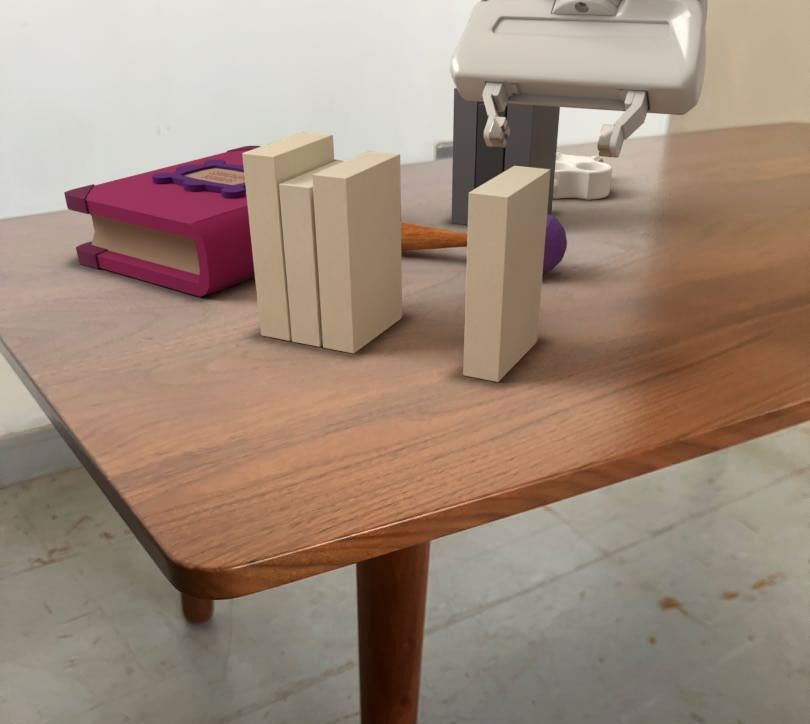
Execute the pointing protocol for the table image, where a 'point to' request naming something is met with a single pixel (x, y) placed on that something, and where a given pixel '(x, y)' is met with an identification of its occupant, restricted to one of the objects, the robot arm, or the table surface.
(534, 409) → the table surface
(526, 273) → the cream book
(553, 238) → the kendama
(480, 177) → the grey books
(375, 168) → the cream books
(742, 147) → the table surface
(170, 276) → the book
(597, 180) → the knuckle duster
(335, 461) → the table surface
